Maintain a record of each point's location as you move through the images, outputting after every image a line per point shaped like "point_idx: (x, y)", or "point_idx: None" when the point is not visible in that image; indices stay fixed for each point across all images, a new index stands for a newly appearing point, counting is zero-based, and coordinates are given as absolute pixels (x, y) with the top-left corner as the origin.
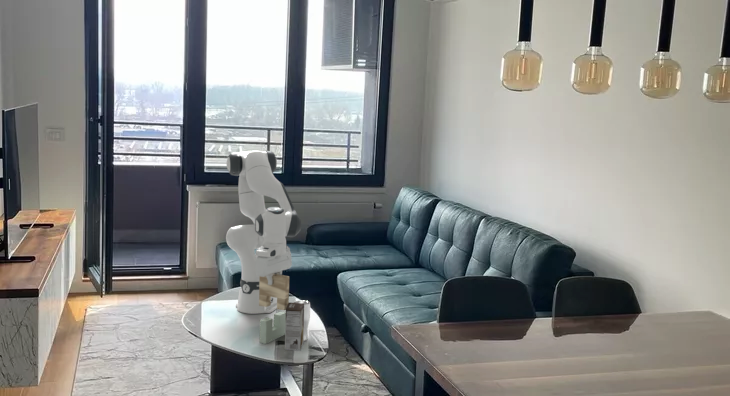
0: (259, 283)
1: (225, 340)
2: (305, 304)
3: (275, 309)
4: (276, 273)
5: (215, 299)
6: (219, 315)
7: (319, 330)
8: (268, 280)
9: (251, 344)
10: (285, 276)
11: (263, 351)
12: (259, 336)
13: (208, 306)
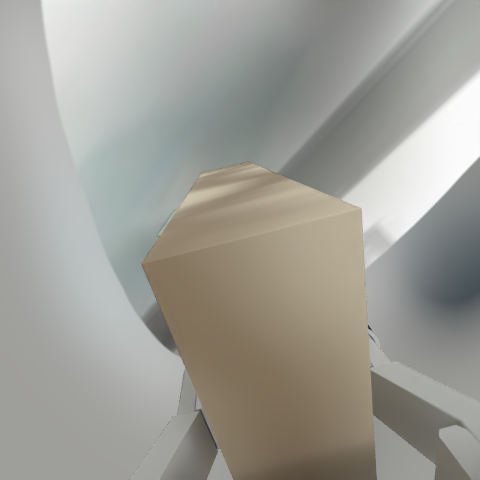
0: (182, 203)
1: (84, 104)
2: (368, 334)
3: None
4: (442, 411)
5: None
6: None
7: (387, 248)
8: (180, 416)
9: (143, 206)
10: None
11: (139, 274)
12: (171, 215)
13: None
